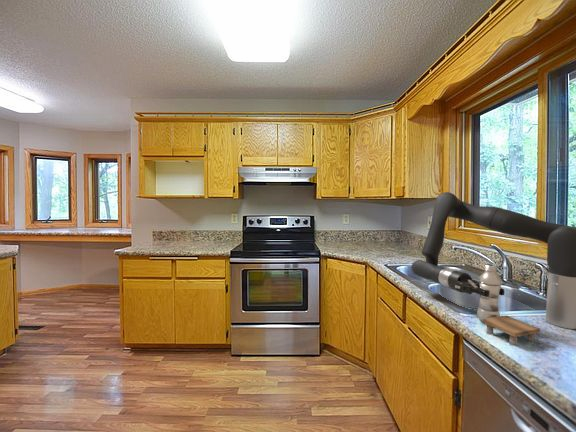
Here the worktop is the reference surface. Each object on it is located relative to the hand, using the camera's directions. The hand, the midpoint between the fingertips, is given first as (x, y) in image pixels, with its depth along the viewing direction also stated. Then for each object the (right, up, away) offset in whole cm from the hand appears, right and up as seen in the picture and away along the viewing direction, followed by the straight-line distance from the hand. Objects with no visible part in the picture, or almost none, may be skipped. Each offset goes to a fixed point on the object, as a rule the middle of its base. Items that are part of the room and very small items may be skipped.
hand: (496, 293), depth 97 cm
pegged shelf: (-1, -11, -8) cm, 14 cm away
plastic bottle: (-1, -11, +3) cm, 11 cm away
